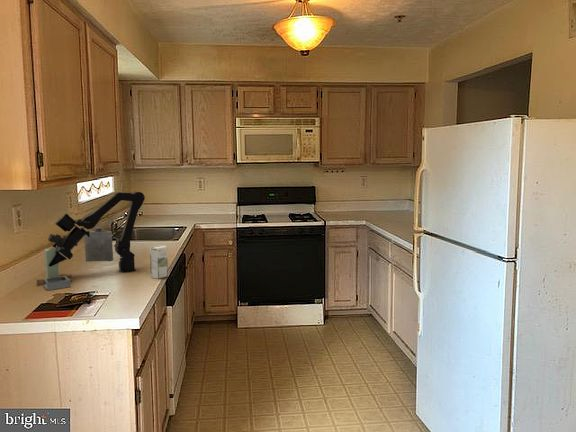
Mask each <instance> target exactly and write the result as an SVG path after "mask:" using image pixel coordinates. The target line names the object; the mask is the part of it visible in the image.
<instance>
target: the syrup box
mask: <svg viewBox="0 0 576 432" xmlns="http://www.w3.org/2000/svg"><path fill="white" fill-rule="evenodd" d="M168 254H169V253H168V246H166V245H163V244H160V245H154V246H150V247H149V260H150V261H149V263H150V264H149V265H150V269H149V270H150V277H151V278H153V279H157V280H159V279H165V278H167V277H169V266H168V265H169V263H168V260H169V259H168V258H169V257H168Z"/></svg>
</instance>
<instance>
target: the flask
mask: <svg viewBox="0 0 576 432" xmlns="http://www.w3.org/2000/svg"><path fill="white" fill-rule="evenodd" d="M94 230H95V231H94ZM94 230H91V231H90V230H89V231H90V233H89V234H90V237H88V236H86V235H85V236H84V237H83V238H84V252H85V254H84V255H85V261H86V262H112V260H113V261H114V254H113V253H114V251H113V250H114V249H113V247H114V246H113V231H112V230H102V226H97V227H96V226H95V227H94Z"/></svg>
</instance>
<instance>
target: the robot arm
mask: <svg viewBox="0 0 576 432" xmlns="http://www.w3.org/2000/svg"><path fill="white" fill-rule="evenodd" d="M145 198H146V196H145V195H144V193H143V192H141V191H137V190H135V191H132V192H122V191H115V193H114V194H113V195H112V196H111V197H110V198H108V199H107V200H106V201H105V202H103V203H102V204H101V205H100V206H99V207H98V208H97V209H95V210H94V211H91V212H90V213H88V214H85V216H83V217H81V218H79V219H74V218H72V217H71V216H70V215H69V213H64V214H63V215H62V216H60V217H59V218H58V219H57V220H56V221H55V223H54V224H55V226H57V227H58V228H59V229H61V231H63V232H69V233H68V234H67V235H64V236H61V234H58V233H57V234H53V233H50V234H49V235H48V238H47V241H49V242H50V243H51V249H53V248H56V249H57V251H56V250H55V256H54V258H53V259H52V261H51V262H50V264H49V266H50V267H51V266H53V265H55V264H57V263H58V264H59V263H61V262H64V261H67V260H69V261H70V260H71V259H72V258H73V253H72V250H73V249H74V247H77V246H78V243H79V242H80V241H81V240H82V239H83V238H84V236H85V235H86V236H88V237H90V234H89V233H90V230H92V229H95V227H96V225H97V224H98V223H99V222H100V221H101V218H103V216H104V215H106V214H107V213H108V212H109V211H110V210H112V209H113V208H114V207H116V205H117V204H119V203H120V202H121V201H127V202H128V203H129V206H128V212H127V214H126V219H125V222H124V226H123V230H122V232H121V236H120V238H119V239H118V238H115V244H114V245H113V247H114V252H115V253H116V254H118V255H119V256H120V257H119V261H118V271H120V272H122V273H127V272H133V271H135V272H136V270H137V269H136V267H135V264H136V263H135V254H134V253H133V252H132V251H131V238H132V234H133V230H134V226H135V223H136V220H137V215H138V213H139V210H140V209H141V207H142V206H143V203H144V201H145V200H146V199H145ZM84 228H85V229H84Z"/></svg>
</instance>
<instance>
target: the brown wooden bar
mask: <svg viewBox="0 0 576 432" xmlns="http://www.w3.org/2000/svg"><path fill="white" fill-rule="evenodd" d="M62 276H66V277H67V278H69V279H70V282H72V281H73V278H72V277H73V275H72V274H65V275H59V276H57V277H62ZM50 278H54V277H50ZM43 279H47V278H46V277H44V278H43V277H42V278H36V286H37V287H38V286H44V280H43Z"/></svg>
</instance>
